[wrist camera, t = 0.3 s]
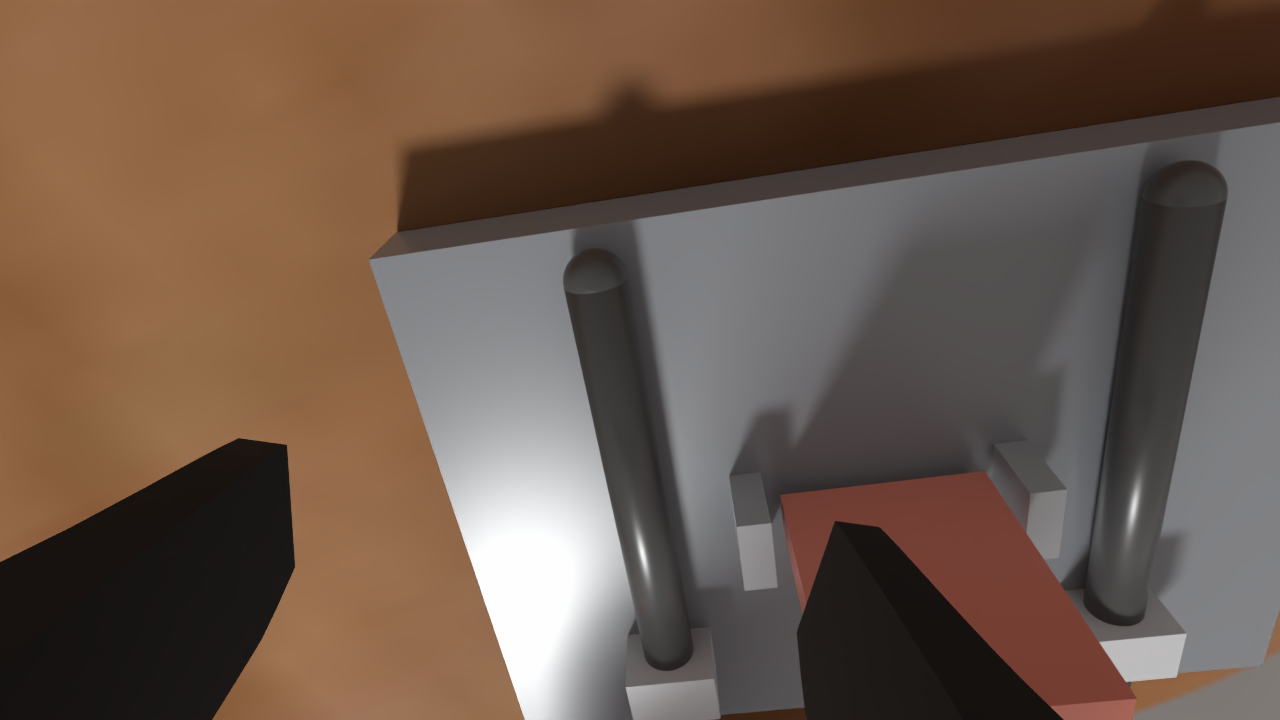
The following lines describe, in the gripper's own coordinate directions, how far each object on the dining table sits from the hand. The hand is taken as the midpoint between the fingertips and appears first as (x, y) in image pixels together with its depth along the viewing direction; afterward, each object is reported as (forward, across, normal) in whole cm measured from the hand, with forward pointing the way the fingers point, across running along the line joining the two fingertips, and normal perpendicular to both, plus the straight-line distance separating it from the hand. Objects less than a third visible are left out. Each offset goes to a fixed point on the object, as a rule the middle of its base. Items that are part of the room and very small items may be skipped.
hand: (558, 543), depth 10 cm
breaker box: (+10, -8, +4) cm, 13 cm away
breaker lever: (+7, -8, +4) cm, 11 cm away
